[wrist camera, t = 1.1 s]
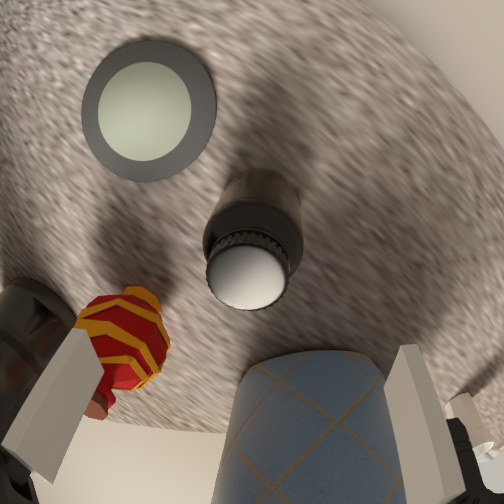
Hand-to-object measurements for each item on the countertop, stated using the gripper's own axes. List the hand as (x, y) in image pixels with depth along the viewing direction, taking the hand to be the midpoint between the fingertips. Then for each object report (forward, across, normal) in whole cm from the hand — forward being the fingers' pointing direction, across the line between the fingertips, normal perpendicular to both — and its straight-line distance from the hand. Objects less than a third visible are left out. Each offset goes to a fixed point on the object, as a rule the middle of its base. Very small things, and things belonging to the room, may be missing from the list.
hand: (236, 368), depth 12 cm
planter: (+19, +7, -27) cm, 34 cm away
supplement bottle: (+19, 0, 0) cm, 19 cm away
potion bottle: (+19, -14, -12) cm, 26 cm away
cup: (+19, +34, -33) cm, 51 cm away
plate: (+18, -10, +9) cm, 23 cm away
